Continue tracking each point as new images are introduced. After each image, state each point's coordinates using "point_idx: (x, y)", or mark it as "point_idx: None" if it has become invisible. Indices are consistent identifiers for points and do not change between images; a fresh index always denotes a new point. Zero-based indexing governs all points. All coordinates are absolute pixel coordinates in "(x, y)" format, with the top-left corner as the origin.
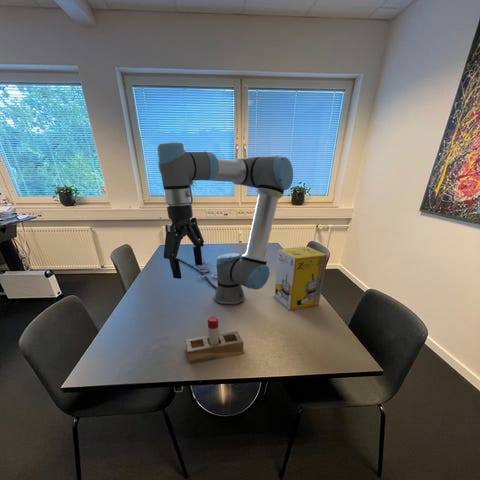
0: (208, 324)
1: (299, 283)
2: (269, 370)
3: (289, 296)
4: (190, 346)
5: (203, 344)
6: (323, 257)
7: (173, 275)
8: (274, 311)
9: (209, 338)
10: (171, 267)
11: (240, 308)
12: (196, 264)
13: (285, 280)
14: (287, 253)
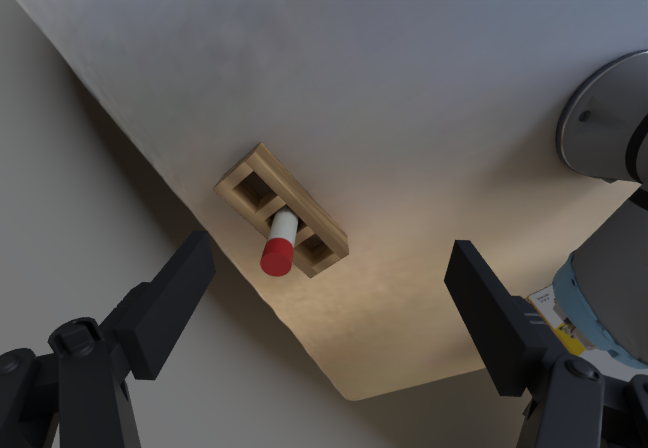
0: (265, 248)
1: None
2: (284, 306)
3: (559, 321)
4: (233, 184)
5: (270, 197)
6: None
7: (186, 243)
8: (517, 269)
9: (273, 222)
10: (131, 296)
11: (531, 183)
12: (453, 250)
13: None
14: None
